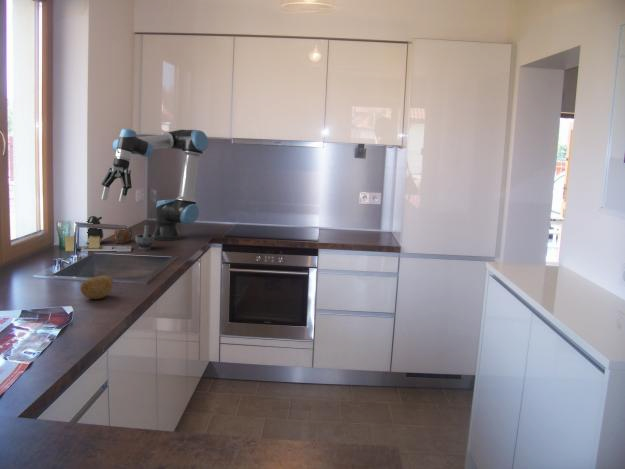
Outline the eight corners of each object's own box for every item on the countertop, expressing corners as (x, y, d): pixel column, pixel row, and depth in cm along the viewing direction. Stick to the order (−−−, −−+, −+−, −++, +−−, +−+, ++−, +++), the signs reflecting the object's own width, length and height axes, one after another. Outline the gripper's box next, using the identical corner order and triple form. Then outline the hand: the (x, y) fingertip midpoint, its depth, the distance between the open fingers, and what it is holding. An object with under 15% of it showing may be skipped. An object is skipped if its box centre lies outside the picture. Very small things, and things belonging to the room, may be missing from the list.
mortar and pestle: (151, 250, 292) (151, 228, 290) (133, 250, 291) (133, 227, 289) (156, 246, 303) (156, 225, 301) (138, 246, 302) (138, 224, 300)
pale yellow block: (100, 249, 290) (99, 235, 289) (99, 251, 285) (99, 237, 284) (89, 249, 289) (89, 236, 288) (88, 251, 284) (88, 237, 283)
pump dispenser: (107, 243, 306) (107, 216, 303) (90, 245, 297) (90, 217, 295) (96, 241, 312) (96, 214, 309) (79, 243, 303) (79, 215, 301)
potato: (120, 294, 208) (120, 273, 207) (98, 304, 195) (98, 282, 194) (97, 291, 210) (97, 271, 209) (74, 301, 197) (73, 279, 196)
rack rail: (131, 248, 296) (131, 245, 296) (130, 251, 288) (130, 249, 288) (83, 248, 290) (82, 246, 289) (81, 251, 281) (81, 249, 281)
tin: (118, 244, 304) (118, 229, 303) (113, 244, 305) (112, 229, 303) (132, 240, 319) (132, 226, 317) (127, 240, 319) (127, 225, 318)
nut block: (77, 249, 287) (77, 236, 286) (76, 251, 282) (75, 237, 281) (66, 249, 286) (66, 236, 284) (65, 251, 281) (65, 237, 280)
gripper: (100, 156, 282) (90, 197, 280) (132, 158, 268) (123, 200, 266) (112, 160, 288) (103, 200, 286) (144, 162, 275) (135, 204, 272)
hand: (112, 200), depth 276 cm, fingers open, 13 cm apart
